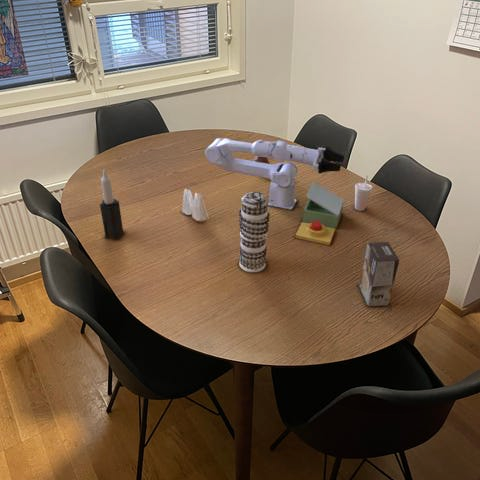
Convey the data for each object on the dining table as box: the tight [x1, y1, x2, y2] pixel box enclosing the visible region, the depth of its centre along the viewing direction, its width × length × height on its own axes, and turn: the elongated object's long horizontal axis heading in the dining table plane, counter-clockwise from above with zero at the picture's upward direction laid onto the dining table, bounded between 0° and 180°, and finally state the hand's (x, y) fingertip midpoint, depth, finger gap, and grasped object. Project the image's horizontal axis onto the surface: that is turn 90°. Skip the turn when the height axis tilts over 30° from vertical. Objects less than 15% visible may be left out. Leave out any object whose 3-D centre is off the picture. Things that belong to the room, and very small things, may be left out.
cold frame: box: [301, 199, 344, 230], centre depth 170 cm, size 12×11×5 cm
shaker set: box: [181, 188, 210, 223], centre depth 168 cm, size 12×4×11 cm, turn 40°
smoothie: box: [354, 175, 373, 212], centre depth 174 cm, size 6×6×14 cm
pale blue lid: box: [305, 181, 345, 216], centre depth 167 cm, size 13×11×1 cm
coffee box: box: [359, 241, 400, 307], centre depth 132 cm, size 9×6×16 cm
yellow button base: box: [295, 222, 336, 246], centre depth 162 cm, size 12×9×3 cm
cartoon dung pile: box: [252, 156, 271, 164], centre depth 201 cm, size 10×8×9 cm
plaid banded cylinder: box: [238, 191, 271, 273], centre depth 141 cm, size 9×9×25 cm
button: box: [311, 221, 322, 231], centre depth 160 cm, size 4×4×2 cm
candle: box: [99, 169, 124, 241], centre depth 154 cm, size 5×5×25 cm
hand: (342, 163), depth 164 cm, fingers open, 7 cm apart
